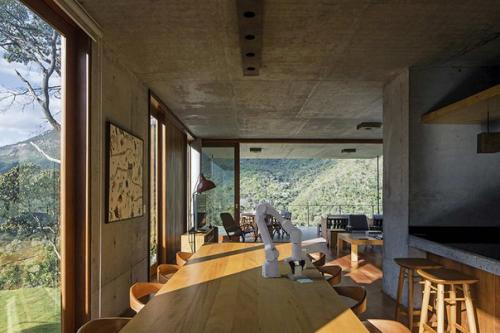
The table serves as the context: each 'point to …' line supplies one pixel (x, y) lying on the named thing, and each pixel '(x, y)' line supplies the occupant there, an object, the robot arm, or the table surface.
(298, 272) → the plug
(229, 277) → the table surface
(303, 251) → the mug
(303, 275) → the grey square frame
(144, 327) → the table surface
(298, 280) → the mat
